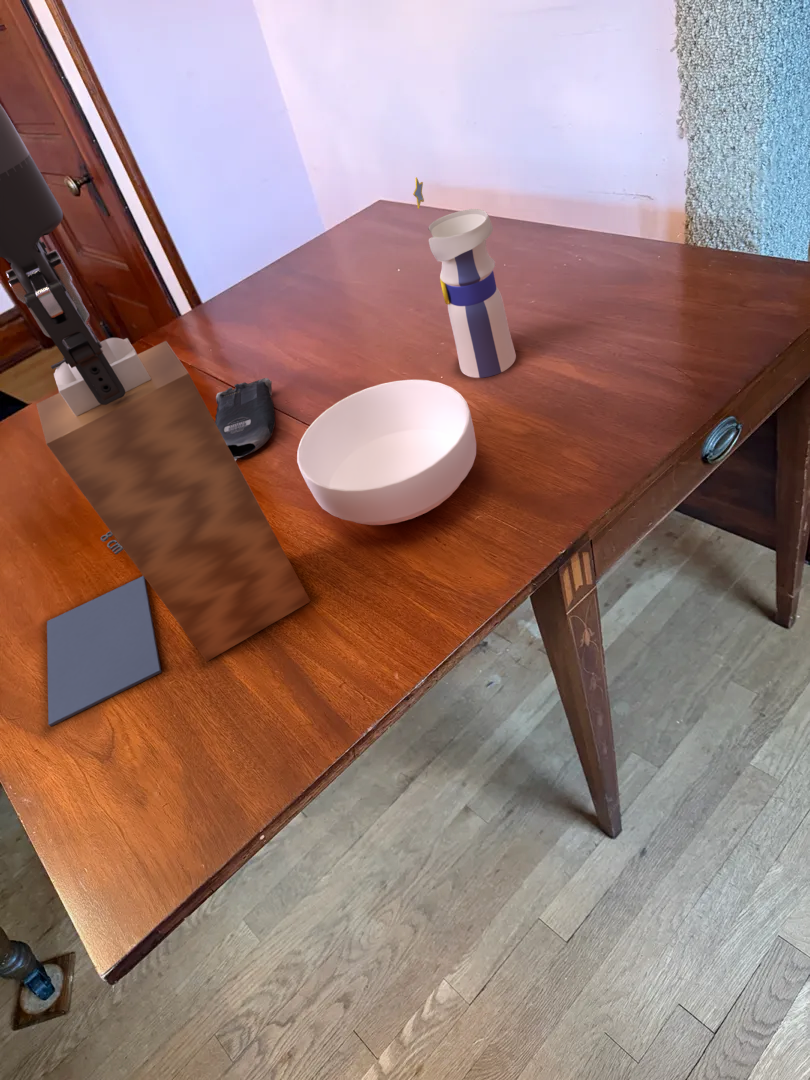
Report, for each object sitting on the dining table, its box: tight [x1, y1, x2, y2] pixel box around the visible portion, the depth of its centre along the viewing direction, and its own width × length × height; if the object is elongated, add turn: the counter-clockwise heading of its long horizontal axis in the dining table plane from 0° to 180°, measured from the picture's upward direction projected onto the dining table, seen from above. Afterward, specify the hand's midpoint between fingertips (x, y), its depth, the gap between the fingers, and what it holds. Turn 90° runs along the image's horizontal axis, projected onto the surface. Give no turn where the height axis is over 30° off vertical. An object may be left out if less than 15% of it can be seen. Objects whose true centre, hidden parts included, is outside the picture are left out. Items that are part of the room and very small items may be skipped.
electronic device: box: [214, 377, 276, 462], centre depth 105 cm, size 9×6×15 cm
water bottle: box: [412, 176, 517, 379], centre depth 93 cm, size 8×9×25 cm
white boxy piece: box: [50, 337, 151, 416], centre depth 60 cm, size 7×4×4 cm, turn 118°
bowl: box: [296, 379, 477, 526], centre depth 84 cm, size 20×20×8 cm
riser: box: [35, 340, 311, 662], centre depth 70 cm, size 12×8×28 cm, turn 118°
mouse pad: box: [46, 575, 162, 727], centre depth 81 cm, size 16×12×1 cm
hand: (106, 383), depth 60 cm, fingers open, 5 cm apart
